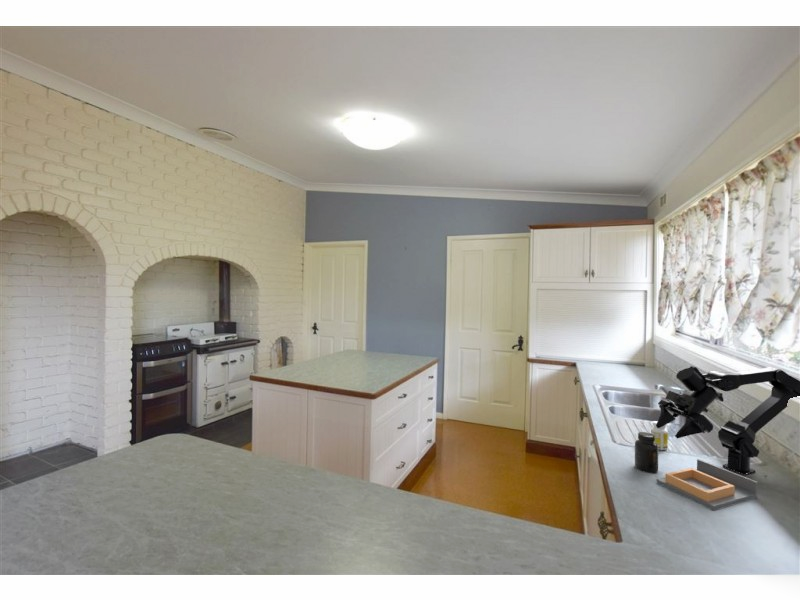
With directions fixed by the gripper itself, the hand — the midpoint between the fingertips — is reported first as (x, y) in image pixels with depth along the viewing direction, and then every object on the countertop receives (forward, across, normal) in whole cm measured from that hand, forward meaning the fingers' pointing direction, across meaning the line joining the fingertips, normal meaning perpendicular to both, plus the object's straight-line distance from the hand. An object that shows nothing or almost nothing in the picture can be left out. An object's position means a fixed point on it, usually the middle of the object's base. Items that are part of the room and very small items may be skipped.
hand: (666, 431), depth 129 cm
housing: (+7, +14, +11) cm, 19 cm away
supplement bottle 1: (+14, 0, +4) cm, 15 cm away
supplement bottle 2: (+2, -18, +16) cm, 24 cm away
